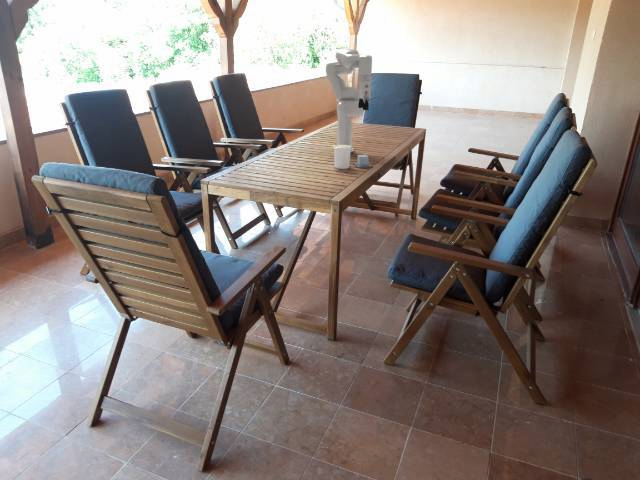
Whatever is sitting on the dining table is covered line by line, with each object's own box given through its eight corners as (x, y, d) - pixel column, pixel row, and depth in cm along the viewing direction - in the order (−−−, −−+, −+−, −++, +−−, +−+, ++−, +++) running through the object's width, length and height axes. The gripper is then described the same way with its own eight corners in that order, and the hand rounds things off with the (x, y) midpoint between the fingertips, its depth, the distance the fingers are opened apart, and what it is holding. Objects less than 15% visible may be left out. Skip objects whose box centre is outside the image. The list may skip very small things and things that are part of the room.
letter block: (365, 163, 283) (365, 154, 281) (368, 165, 278) (368, 156, 276) (357, 163, 282) (357, 155, 280) (359, 165, 277) (359, 156, 275)
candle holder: (336, 169, 270) (336, 148, 266) (331, 165, 279) (331, 145, 274) (352, 168, 273) (353, 147, 268) (347, 164, 281) (347, 144, 277)
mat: (353, 163, 284) (353, 162, 283) (367, 163, 285) (367, 162, 285) (357, 167, 275) (357, 166, 274) (372, 167, 276) (372, 166, 276)
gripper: (375, 79, 268) (373, 110, 274) (366, 77, 283) (365, 106, 290) (362, 79, 266) (361, 111, 273) (354, 77, 282) (353, 107, 289)
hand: (363, 108), depth 281 cm, fingers open, 9 cm apart
